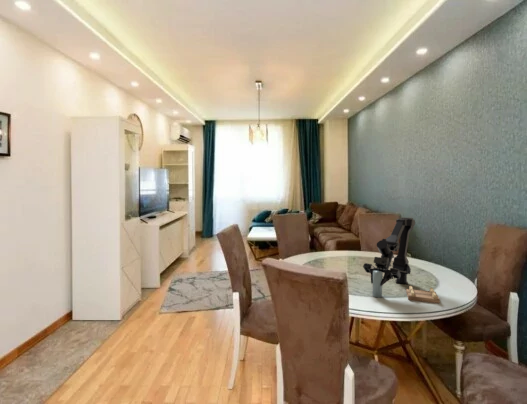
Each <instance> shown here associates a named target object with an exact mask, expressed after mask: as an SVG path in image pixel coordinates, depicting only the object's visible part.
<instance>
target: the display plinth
mask: <svg viewBox="0 0 527 404" xmlns="http://www.w3.org/2000/svg"><path fill="white" fill-rule="evenodd" d="M405 290H406V296H407V299H408V301H414V302H423V303H432V304H433V303H434V304H440V298H439V296H438V294H437V292H436V291H435V290H434V288H433V287H429V290H423V289H413V286H412V285H409V287H408V288H406V289H405Z"/></svg>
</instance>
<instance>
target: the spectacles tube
mask: <svg viewBox="0 0 527 404" xmlns="http://www.w3.org/2000/svg"><path fill="white" fill-rule="evenodd" d="M383 277H384V273H383V272H382V271H378V270H374V271H373V283H372V289H371V290H372V294H371V295H372V297H373V298H378V299H379V298H382V297H383V285H382V286H381V281H382V279H383Z"/></svg>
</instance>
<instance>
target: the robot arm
mask: <svg viewBox="0 0 527 404" xmlns="http://www.w3.org/2000/svg"><path fill="white" fill-rule="evenodd" d="M394 225H395V226H394V227H393V229H392V231H391V234H390V235H389V236H388V237H386V238H382V239H381V240H379V241H377V242H376V247H377V249H378V252H379V254H381V255H380V257H379V256H374V258H373V262H372V263H374V264H375V266H373V264H372V263H368V262H367V263H366V262H364V263H363V266H362V268H363V269H364V271H365V273H369V274H370V283H371V284H373V271H374V270H378V271H382V272H383V278H382V281H381V286H382V287H383V286H384V284H385V283H387V282H389V281H390V280H393V279H395V280H394V281H395V283H396V284H402V285H408V284H409V283H408V277H407V276H408V275H411V270H412V269H411V267H410V264H409V260H408V257H407V256H408V249H409V248H408V247H409V241H410V240H409V239H410V234H411V232H412V231H413V230H414V228H415V225H416V220H415V219H414V218H413V217H405V216H402V217H401V218H397V219H396V223H395V224H394ZM394 252H398V253H397V255H396V256H395V255H394ZM392 261H393V262H392ZM391 266H392V267H391Z"/></svg>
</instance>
